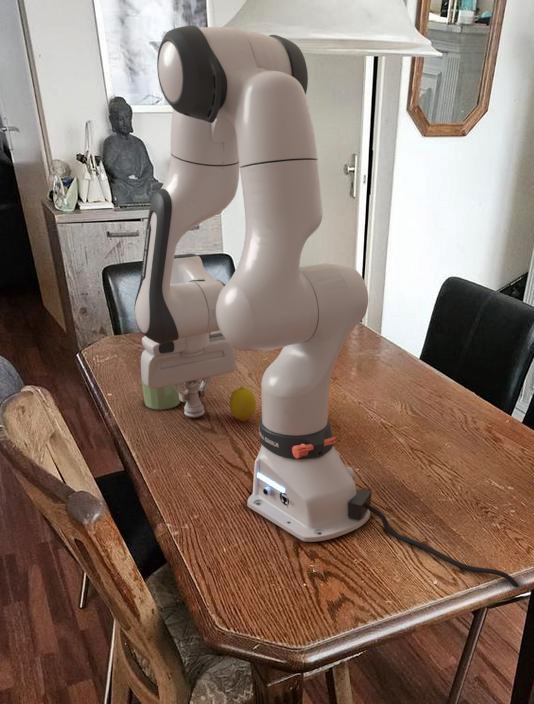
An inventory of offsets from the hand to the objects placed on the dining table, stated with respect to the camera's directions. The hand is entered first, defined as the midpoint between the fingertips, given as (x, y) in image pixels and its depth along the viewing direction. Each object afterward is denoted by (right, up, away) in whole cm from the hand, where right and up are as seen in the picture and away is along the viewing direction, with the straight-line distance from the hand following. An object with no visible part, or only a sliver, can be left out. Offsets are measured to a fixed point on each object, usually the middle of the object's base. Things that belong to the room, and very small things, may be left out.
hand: (193, 398), depth 136 cm
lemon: (+11, -5, +1) cm, 12 cm away
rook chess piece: (0, -3, +2) cm, 4 cm away
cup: (-9, 0, +8) cm, 12 cm away
